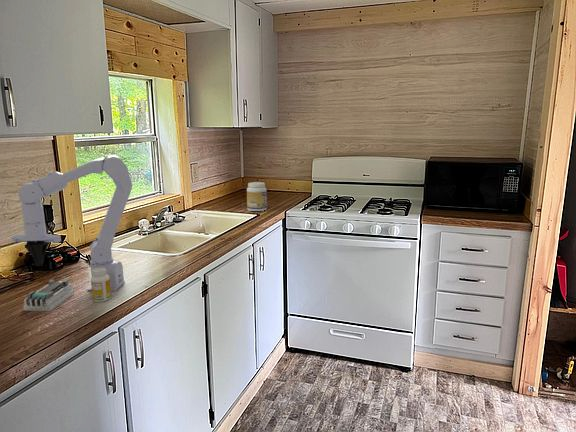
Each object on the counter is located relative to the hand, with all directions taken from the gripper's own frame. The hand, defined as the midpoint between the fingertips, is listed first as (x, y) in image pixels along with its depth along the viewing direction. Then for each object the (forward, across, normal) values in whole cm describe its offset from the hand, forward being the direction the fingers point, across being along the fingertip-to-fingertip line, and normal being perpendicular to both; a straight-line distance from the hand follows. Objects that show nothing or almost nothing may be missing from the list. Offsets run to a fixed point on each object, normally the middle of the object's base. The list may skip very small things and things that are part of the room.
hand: (39, 264), depth 137 cm
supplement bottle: (+11, -20, +2) cm, 23 cm away
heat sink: (+10, -5, +5) cm, 13 cm away
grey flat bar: (+7, -5, +5) cm, 10 cm away
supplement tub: (+11, -52, -135) cm, 145 cm away
